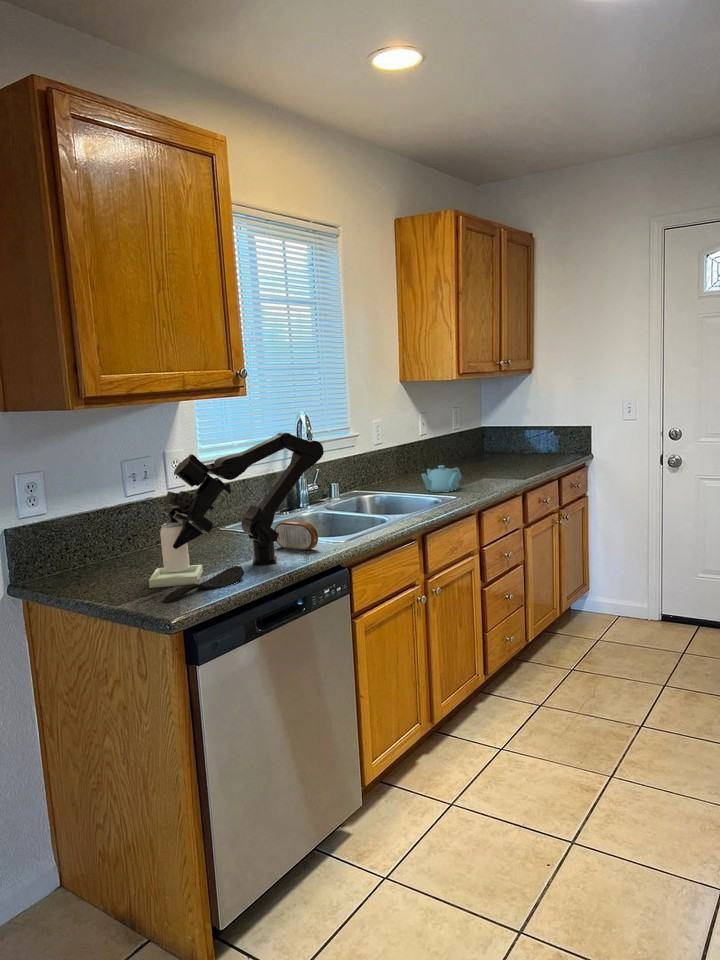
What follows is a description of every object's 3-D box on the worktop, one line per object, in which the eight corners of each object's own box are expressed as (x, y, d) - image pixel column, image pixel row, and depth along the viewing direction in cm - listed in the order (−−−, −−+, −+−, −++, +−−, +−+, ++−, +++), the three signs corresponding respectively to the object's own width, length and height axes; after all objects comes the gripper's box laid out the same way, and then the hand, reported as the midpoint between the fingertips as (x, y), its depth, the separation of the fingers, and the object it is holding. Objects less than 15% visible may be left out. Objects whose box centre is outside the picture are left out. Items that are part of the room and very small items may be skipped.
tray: (157, 575, 198) (156, 568, 198) (202, 571, 199) (202, 564, 199) (149, 587, 186) (148, 580, 186) (197, 583, 188) (197, 576, 187)
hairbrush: (151, 590, 175) (227, 560, 194) (153, 605, 175) (229, 574, 195) (174, 595, 170) (250, 564, 190) (176, 611, 170) (252, 578, 190)
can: (184, 565, 197) (179, 521, 195) (193, 569, 192) (188, 524, 190) (160, 570, 194) (155, 525, 192) (169, 574, 188) (164, 528, 187)
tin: (319, 550, 217) (317, 521, 216) (313, 552, 215) (311, 524, 213) (280, 546, 226) (278, 518, 225) (273, 548, 223) (271, 520, 222)
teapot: (458, 493, 304) (457, 467, 302) (421, 494, 307) (420, 468, 306) (462, 487, 318) (461, 462, 317) (427, 488, 322) (426, 463, 320)
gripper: (168, 476, 199) (132, 523, 195) (196, 481, 184) (158, 533, 179) (198, 500, 205) (164, 547, 200) (228, 507, 190) (192, 558, 185)
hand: (169, 546), depth 191 cm, fingers closed on can, 6 cm apart
